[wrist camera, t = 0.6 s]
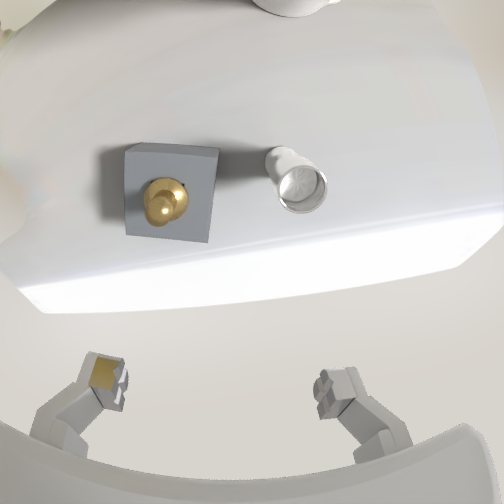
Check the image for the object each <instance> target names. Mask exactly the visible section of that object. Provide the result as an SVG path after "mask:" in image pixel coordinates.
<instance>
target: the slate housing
mask: <svg viewBox="0 0 504 504" xmlns="http://www.w3.org/2000/svg"><path fill="white" fill-rule="evenodd" d="M219 150H220V148H212V147H202V146H191V145H178V144H162V143H139V144H137V145H135V146H133V147H132V148H130V149H128V150H126V151H125V161H124V203H125V227H126V235H133V236H143V237H153V238H163V239H173V240H183V241H193V242H203V243H208V238H209V230H210V223H211V214H212V205H213V196H214V188H215V180H216V172H217V165H218V157H219ZM163 177H169V178H173V179H176V180H178V181H179V182H180V183H183V184H185V185H184V187H185V188H186V190H187V193H188V198H189V200H188V205H187V208H186V211H185V212H184V214H183V215H182V216H181V217H180V218H178V219H176V220H174V221H170V222H168V223H167V224H166V225H165V226H162V227H155V226H152V225H151V224H149V223H148V221H147V220H146V218H145V210H146V208H145V205H144V194H145V191H146V189H147V188H148V186H149V185H150V184H151V183H152V182H153V181H155V180H156V179H159V178H163Z"/></svg>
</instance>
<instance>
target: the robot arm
mask: <svg viewBox="0 0 504 504" xmlns="http://www.w3.org/2000/svg"><path fill="white" fill-rule="evenodd" d="M252 1H253V2H254V3H255V4H257V5H258V6H259V7H261V8H262V9H264V10H266V11H268V12H271V13H273V14H276V15H280V16H286V17H301V16H306V15H310V14H312V13H314V12H316V11H318V10H319V9H321V8H322V7H324V6H326V5H333V4H336V3H338V2H339V1H340V0H252ZM124 365H125V362H124V359H123V358H118V357H113V356H108V355H103V354H99V353H94V352H88V353H87V355H86V357H85V360H84V362H83V365H82V367H81V370H80V373H79V376H78V378H77V381H76V383H74V382H72V383H71V384H70V385H69V386H67V387H66V388H65V389H63V390H62V391H61V392H60V393H58V394H57V395H56V396H54V397H53V398H52V399H51V400H49V401H48V402H47V403H45V404H44V405H43V406H41V407H40V408H39V409H38V410H37V412H36V415H35V418H34V421H33V424H32V428H31V431H30V434H29V436H28V435H26V434H24V433H22V432H20V431H18V430H16V429H14V428H13V427H11V426H9V425H7V424H5V423H3V422H2V421H0V504H502V503H501V494H500V489H499V484H498V479H497V474H496V470H495V467H494V464H493V460H492V456H491V454H490V450H489V448H488V445H487V443H486V440H485V438H484V437H483V435H482V434H481V433H480V432H478V431H477V430H475V429H474V428H473V427H471V426H469V425H467V424H464V423H463V424H459V425H458V426H456V427H454V428H452V429H450V430H448V431H445V432H443V433H441V434H439V435H437V436H435V437H433V438H430V439H428V440H426V441H423V442H421V443H419V444H416V445H414V446H413V443H412V440H411V438H410V435H409V432H408V430H407V427H406V425H405V423H404V422H403V421H401V420H400V419H399V418H398V417H396V416H395V415H394V414H393V413H391V412H390V411H389V410H388V409H386V408H385V407H384V406H383V405H381V404H380V403H379V402H378V401H376V400H375V399H374V398H373V397H372V396H368V395H367V392H366V390H365V387H364V385H363V382H362V380H361V378H360V375H359V372H358V370H357V368H355V367H347V368H344V367H343V368H332V369H324V370H322V371H321V373H320V376H321V377H320V378H318V379H317V380H316V381H315V383H314V388H313V393H314V398H315V399H316V400H317V401H318V402H319V404H318V406H317V410H318V413H319V417H320V420H322V419H331V418H338V420H339V421H340V422H341V423H342V424H343V426H344V427H345V428H346V429H347V430H348V431H349V432H350V433H351V434H352V435H353V436H354V437H355V438H356V439H357V440H358V441H359V442H360V444H362V445H361V446H360V447H359V448H357V449H356V450H355V451H354V452H353V455H354V459H355V463H356V464H355V465H351V466H348V467H343V468H338V469H334V470H329V471H324V472H318V473H312V474H306V475H299V476H291V477H282V478H272V479H255V480H206V479H190V478H180V477H171V476H163V475H156V474H150V473H144V472H139V471H134V470H129V469H124V468H120V467H116V466H112V465H108V464H104V463H100V462H97V461H93V460H90V459H87V458H86V457H87V451H88V444H87V443H86V442H85V441H84V440H83V439H82V438H81V437H80V436H79V435H80V434H81V433H82V432H83V431H84V430H85V428H87V426H88V425H89V424H90V423H91V422H92V421H93V420H94V419H95V418H96V417H97V416H98V415H99V414H100V413H101V412H102V411H103V410H104V409H110V410H114V411H119V412H122V410H123V405H124V401H125V398H124V396H123V393H124V392H125V391H126V390H127V387H128V372H127V369H126V368H124ZM103 408H104V409H103Z"/></svg>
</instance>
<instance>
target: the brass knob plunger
mask: <svg viewBox="0 0 504 504" xmlns="http://www.w3.org/2000/svg"><path fill="white" fill-rule="evenodd" d="M184 185H185V184H183V183H180V182H179V181H178V180H176V179H173V178H169V177H163V178H159V179H156V180H155V181H153V182H152V183H151V184H150V185H149V186H148V188H147V189H146V191H145V194H144V205H145V208H146V210H145V218H146V220H147V221H148V223H149V224H151V225H152V226H155V227H162V226H165V225H166V224H167V223H168V222H170V221H174V220H176V219H178V218H180V217H181V216H182V215H183V214H184V212H185V211H186V208H187V205H188V200H189V198H188V193H187V190H186V188H185V187H184Z"/></svg>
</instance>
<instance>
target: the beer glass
mask: <svg viewBox="0 0 504 504" xmlns="http://www.w3.org/2000/svg"><path fill="white" fill-rule="evenodd" d="M265 168H266V171H267V172H268V174H269V175H270V184H271V187H272V190H273V192H274V194H275V195H276V197H277V198H278V200H279V201H280V203H281V204H282V206H283V207H284V208H286V209H287V210H288V211H290V212H293V213H297V214H304V213H309V212H311V211H314V210H315V209H317V208H318V207H319V206H320V205H321V204H322V203H323V201H324V199H325V197H326V194H327V181H326V179H325V177H324V175H323V174H322V173H321V172H320V170H319V169H318V168H317V167H316V166H315V165H314V164H313V163H312V162H311V161H310V160H308V159H307V158H305V157H303V156H300V155H297V154H296V153H295V152H294V151H293V150H292V149H291V148H288V147H284V146H280V147H276V148H274V149H272V150H271V151H270V152H269V153H268V154H267V156H266V159H265Z"/></svg>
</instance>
